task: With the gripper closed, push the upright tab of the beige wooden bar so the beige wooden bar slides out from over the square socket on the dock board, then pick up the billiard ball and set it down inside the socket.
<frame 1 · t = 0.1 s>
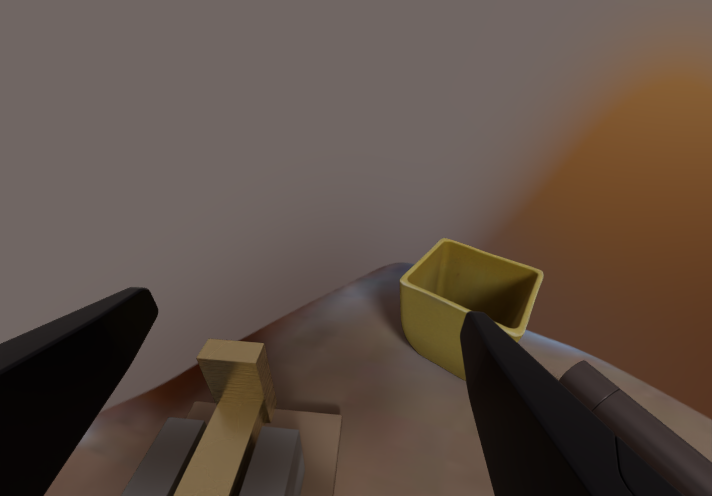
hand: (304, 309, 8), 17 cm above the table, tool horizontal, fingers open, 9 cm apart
portable electronic device stand: (604, 490, 18), on the table
flower pot: (449, 350, 27), on the table
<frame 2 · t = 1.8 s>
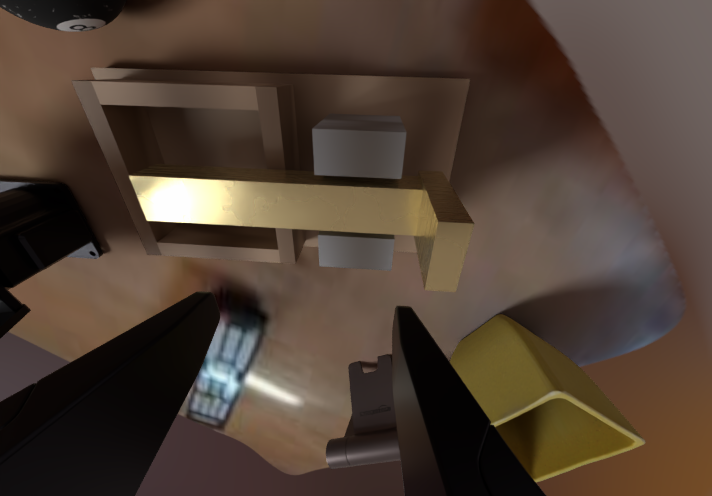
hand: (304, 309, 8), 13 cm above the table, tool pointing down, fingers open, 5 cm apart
portable electronic device stand: (382, 378, 31), on the table
beige wooden bar: (281, 214, 13), point 7 cm above the table, slide at 0.0 cm
flower pot: (496, 336, 27), on the table
dock: (289, 168, 19), on the table
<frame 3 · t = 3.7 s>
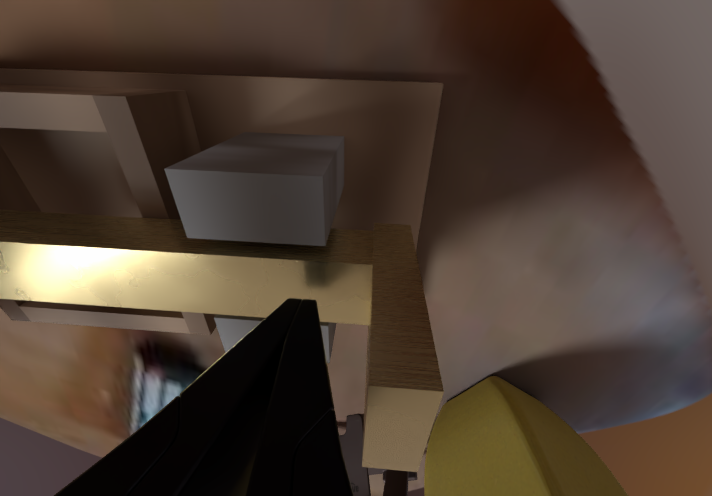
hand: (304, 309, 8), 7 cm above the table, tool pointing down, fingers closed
portable electronic device stand: (355, 436, 26), on the table
beige wooden bar: (146, 303, 8), point 7 cm above the table, slide at 0.4 cm, touching gripper
flower pot: (489, 397, 22), on the table
dock: (206, 202, 14), on the table
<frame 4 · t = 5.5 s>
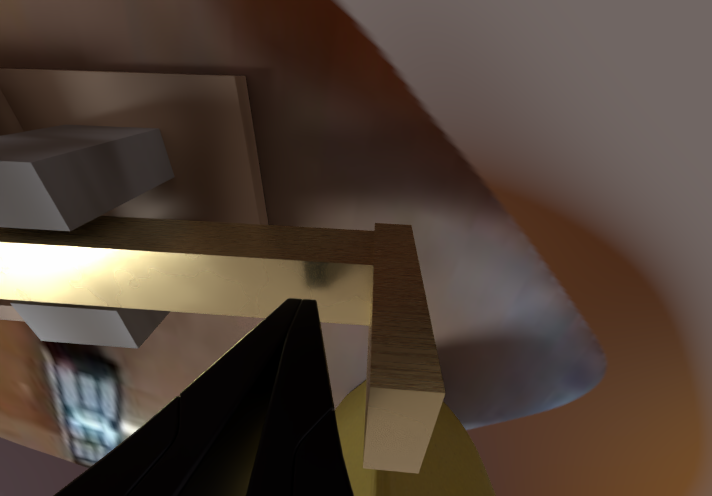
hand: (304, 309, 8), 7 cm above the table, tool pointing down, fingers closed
beige wooden bar: (146, 303, 8), point 7 cm above the table, slide at 7.9 cm, touching gripper
flower pot: (390, 389, 22), on the table
dock: (64, 194, 15), on the table
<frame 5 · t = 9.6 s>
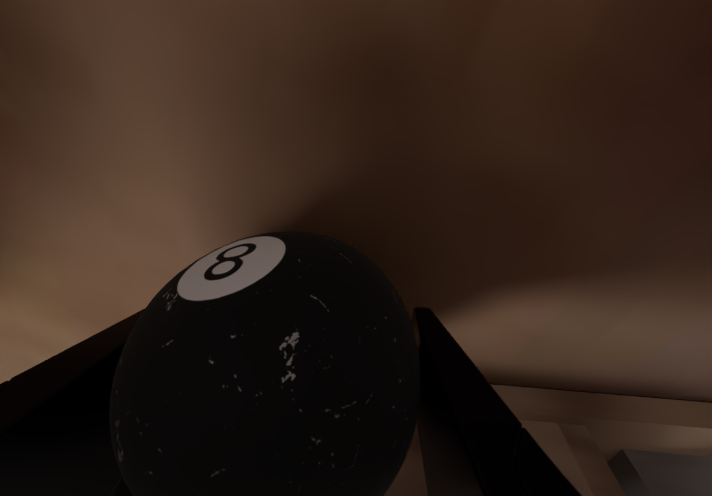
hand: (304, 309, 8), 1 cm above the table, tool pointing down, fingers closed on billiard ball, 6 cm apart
billiard ball: (314, 278, 9), on the table, touching gripper
dock: (505, 454, 14), on the table
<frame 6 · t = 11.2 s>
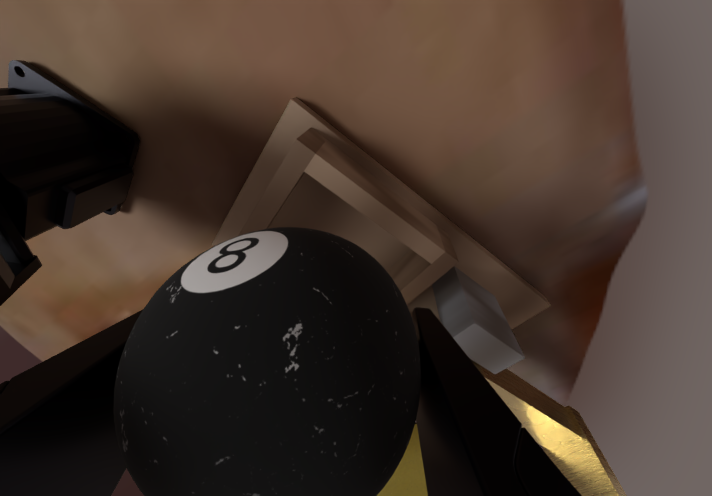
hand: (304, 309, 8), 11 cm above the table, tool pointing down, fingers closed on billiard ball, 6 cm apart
beige wooden bar: (506, 421, 17), point 7 cm above the table, slide at 7.9 cm
billiard ball: (315, 274, 9), point 9 cm above the table, touching gripper
flower pot: (420, 431, 32), on the table
dock: (383, 266, 20), on the table
when the fingers open (4 cm above the table, at t = 13.2 s): billiard ball drops 2 cm, resting on dock.
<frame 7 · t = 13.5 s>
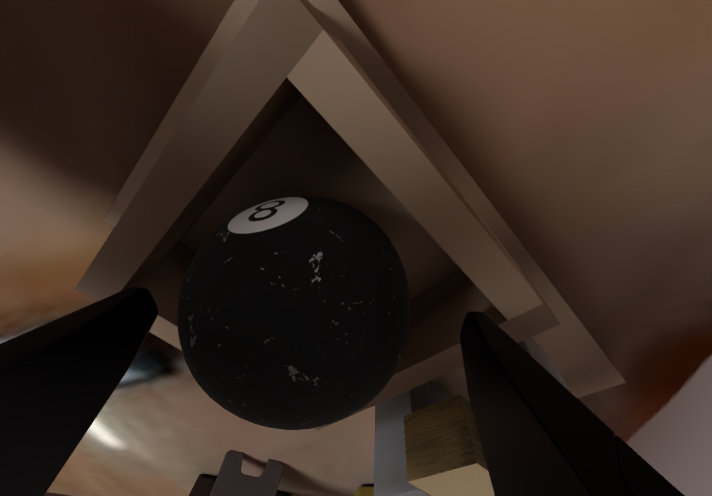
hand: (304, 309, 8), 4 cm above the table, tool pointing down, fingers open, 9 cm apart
portable electronic device stand: (250, 469, 25), on the table
billiard ball: (322, 245, 11), point 1 cm above the table, touching dock
flower pot: (391, 492, 25), on the table
dock: (392, 294, 13), on the table
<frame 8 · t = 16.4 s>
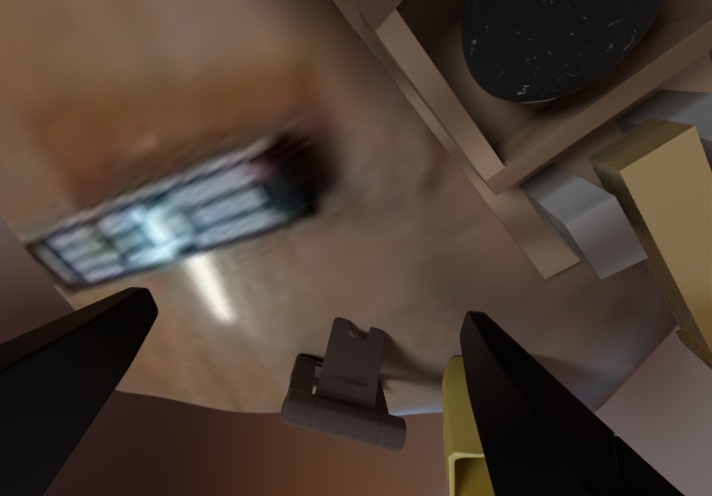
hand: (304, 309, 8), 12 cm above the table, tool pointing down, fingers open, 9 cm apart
portable electronic device stand: (346, 347, 27), on the table
billiard ball: (514, 21, 13), point 1 cm above the table, touching dock
flower pot: (476, 368, 28), on the table
dock: (548, 94, 15), on the table
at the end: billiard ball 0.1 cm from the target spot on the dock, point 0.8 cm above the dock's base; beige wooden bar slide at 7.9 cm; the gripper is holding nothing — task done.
